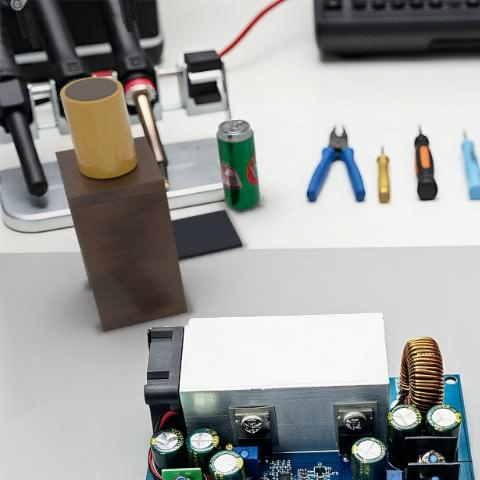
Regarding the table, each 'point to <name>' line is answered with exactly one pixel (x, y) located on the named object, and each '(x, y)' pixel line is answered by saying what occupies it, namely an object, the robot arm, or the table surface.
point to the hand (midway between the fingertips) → (82, 35)
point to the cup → (99, 127)
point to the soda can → (238, 164)
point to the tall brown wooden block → (126, 240)
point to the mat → (204, 234)
